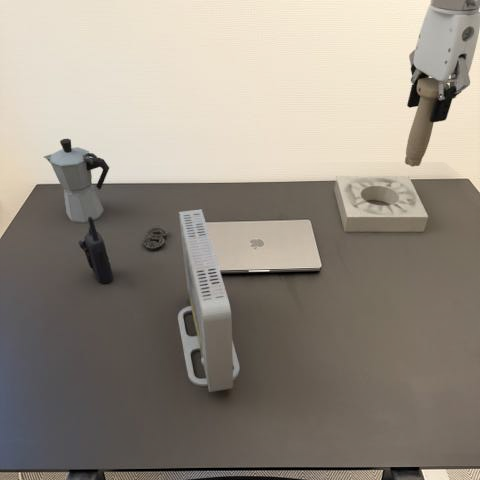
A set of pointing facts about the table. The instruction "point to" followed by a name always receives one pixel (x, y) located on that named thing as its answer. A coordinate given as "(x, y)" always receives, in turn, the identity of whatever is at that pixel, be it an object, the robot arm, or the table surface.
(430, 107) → the handle
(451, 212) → the table surface
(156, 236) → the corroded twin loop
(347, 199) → the square block with hole
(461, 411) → the table surface
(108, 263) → the two-way radio
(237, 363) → the network device
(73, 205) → the coffee maker
